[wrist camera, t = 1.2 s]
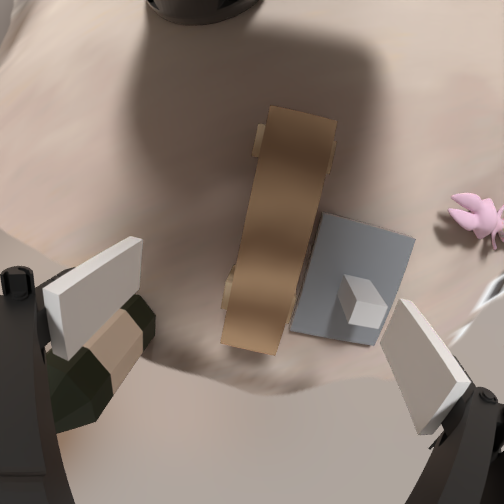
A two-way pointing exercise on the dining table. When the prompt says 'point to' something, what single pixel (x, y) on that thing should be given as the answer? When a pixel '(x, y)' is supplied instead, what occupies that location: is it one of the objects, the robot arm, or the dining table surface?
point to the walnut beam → (277, 227)
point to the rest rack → (230, 278)
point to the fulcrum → (351, 280)
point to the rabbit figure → (478, 216)
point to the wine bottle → (98, 366)
